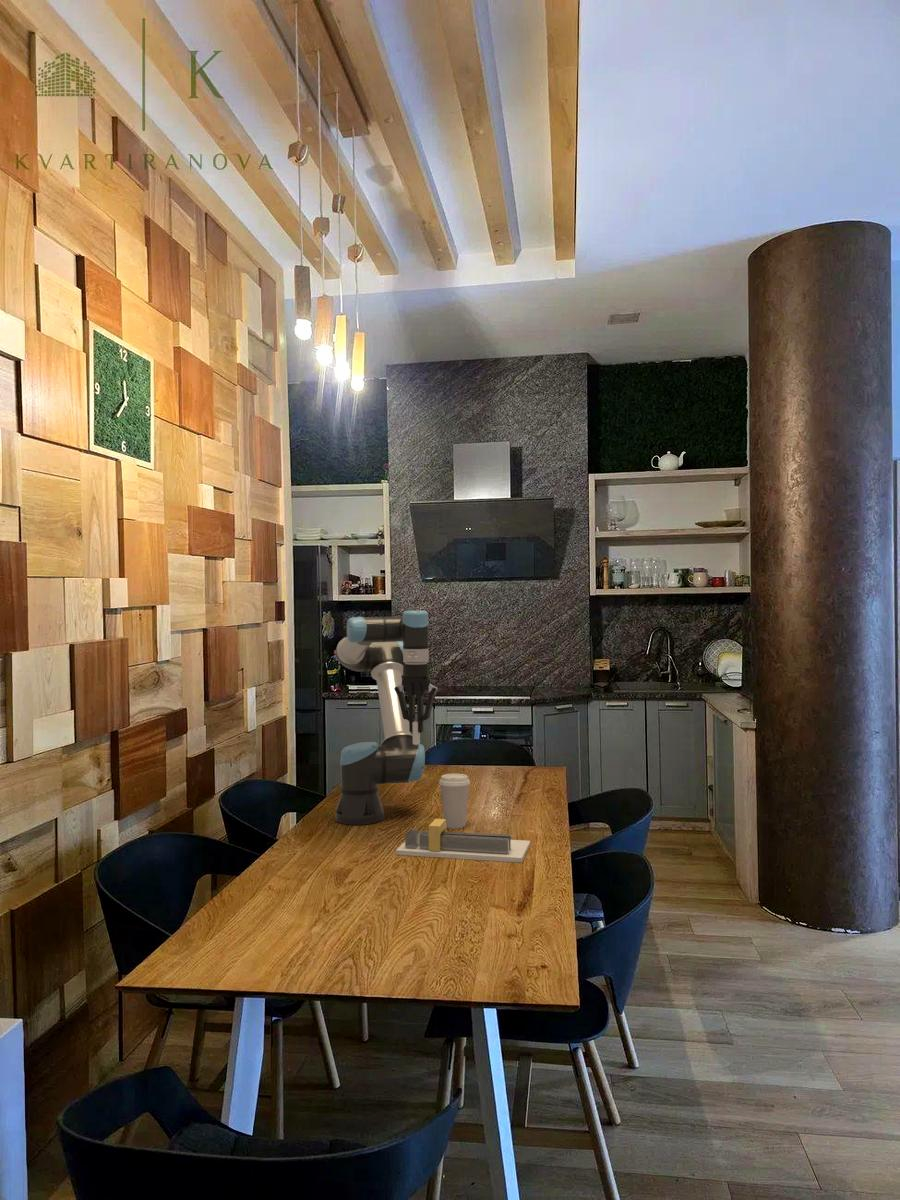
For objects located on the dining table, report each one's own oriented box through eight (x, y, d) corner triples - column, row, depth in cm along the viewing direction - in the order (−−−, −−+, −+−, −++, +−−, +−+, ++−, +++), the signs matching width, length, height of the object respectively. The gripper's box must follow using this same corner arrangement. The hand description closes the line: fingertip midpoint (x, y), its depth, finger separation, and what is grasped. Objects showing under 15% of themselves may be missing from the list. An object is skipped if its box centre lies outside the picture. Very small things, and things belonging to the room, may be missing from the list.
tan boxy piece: (428, 850, 223) (428, 825, 223) (435, 842, 231) (435, 818, 231) (439, 850, 223) (439, 826, 223) (446, 842, 230) (446, 819, 230)
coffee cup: (433, 827, 251) (433, 777, 251) (448, 820, 260) (447, 771, 260) (461, 831, 247) (461, 780, 247) (476, 823, 255) (475, 774, 255)
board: (395, 854, 224) (395, 850, 224) (412, 838, 240) (412, 834, 240) (521, 862, 217) (521, 858, 217) (530, 845, 232) (530, 840, 232)
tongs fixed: (405, 847, 226) (405, 834, 226) (409, 842, 230) (409, 829, 230) (507, 853, 220) (507, 840, 220) (510, 848, 224) (510, 835, 224)
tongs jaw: (422, 845, 227) (421, 832, 227) (423, 843, 229) (423, 830, 229) (510, 849, 223) (510, 836, 223) (510, 847, 225) (510, 834, 225)
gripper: (390, 663, 243) (391, 745, 243) (434, 664, 240) (434, 746, 240) (398, 661, 250) (398, 740, 250) (440, 662, 247) (441, 742, 247)
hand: (416, 743), depth 245 cm, fingers closed
